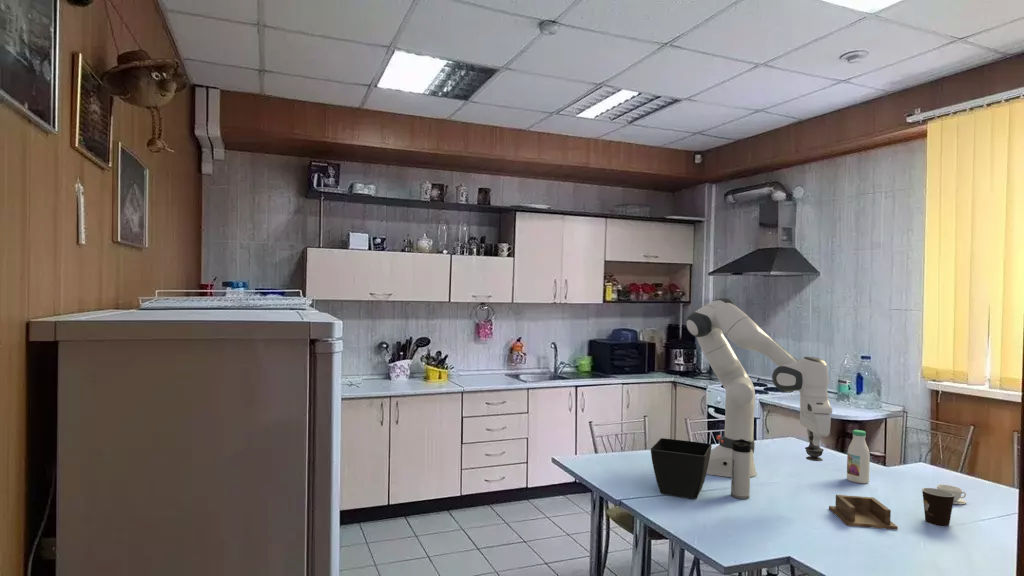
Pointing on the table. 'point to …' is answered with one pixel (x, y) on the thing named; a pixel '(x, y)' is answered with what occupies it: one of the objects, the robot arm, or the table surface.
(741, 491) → the travel mug
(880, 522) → the u-rest
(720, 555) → the table surface
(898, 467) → the table surface
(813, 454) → the grey chess piece
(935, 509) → the coffee mug
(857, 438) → the milk bottle
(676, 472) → the flower pot
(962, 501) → the teacup
